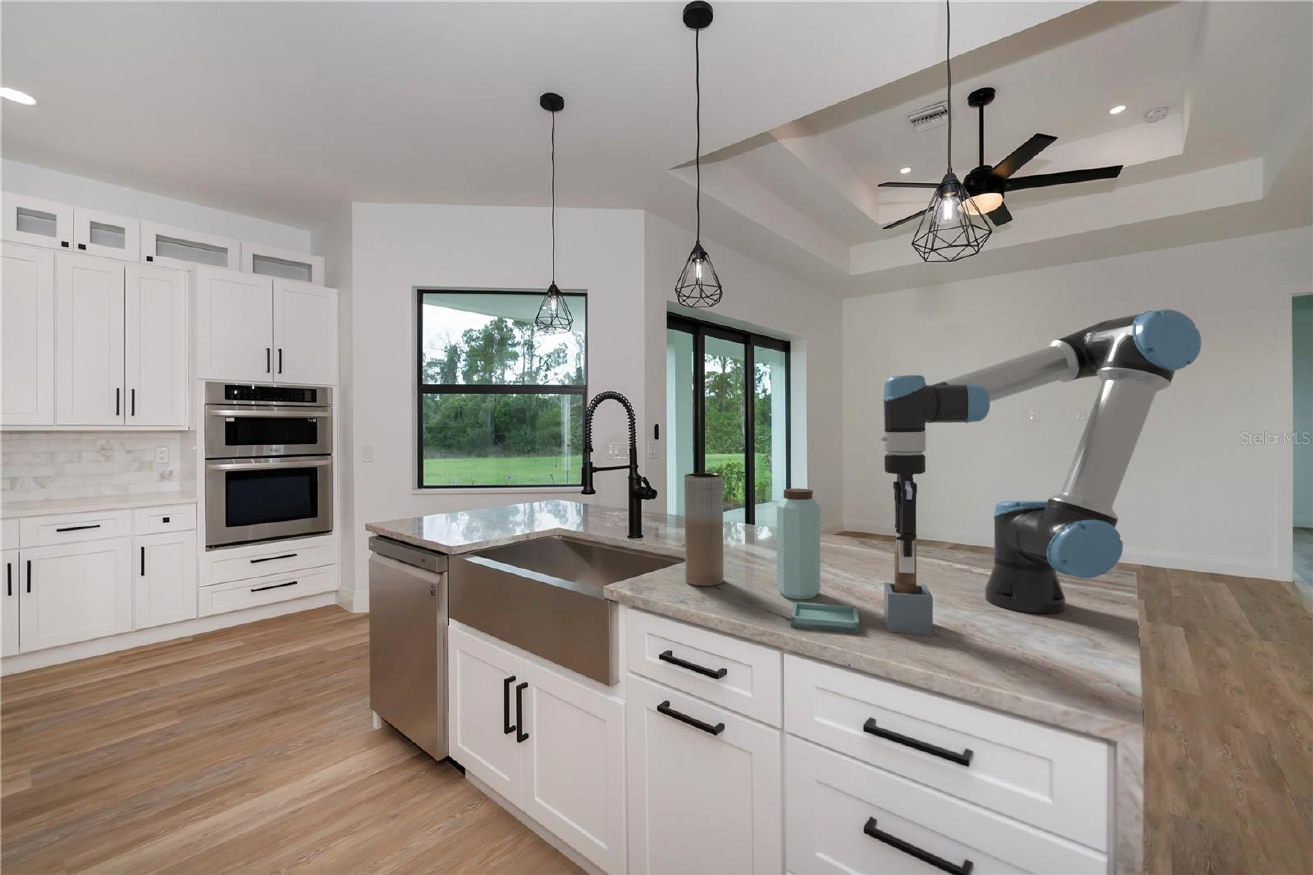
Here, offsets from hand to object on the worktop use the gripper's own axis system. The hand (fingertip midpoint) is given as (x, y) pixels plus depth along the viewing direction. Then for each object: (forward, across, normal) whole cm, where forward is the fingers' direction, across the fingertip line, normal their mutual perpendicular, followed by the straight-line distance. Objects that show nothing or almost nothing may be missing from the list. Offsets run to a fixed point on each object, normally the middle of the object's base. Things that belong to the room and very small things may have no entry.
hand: (905, 569), depth 115 cm
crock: (+12, 0, 0) cm, 12 cm away
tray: (+11, +2, -16) cm, 19 cm away
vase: (+11, -21, -46) cm, 52 cm away
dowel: (+9, 0, 0) cm, 9 cm away
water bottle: (+12, -16, -22) cm, 29 cm away
